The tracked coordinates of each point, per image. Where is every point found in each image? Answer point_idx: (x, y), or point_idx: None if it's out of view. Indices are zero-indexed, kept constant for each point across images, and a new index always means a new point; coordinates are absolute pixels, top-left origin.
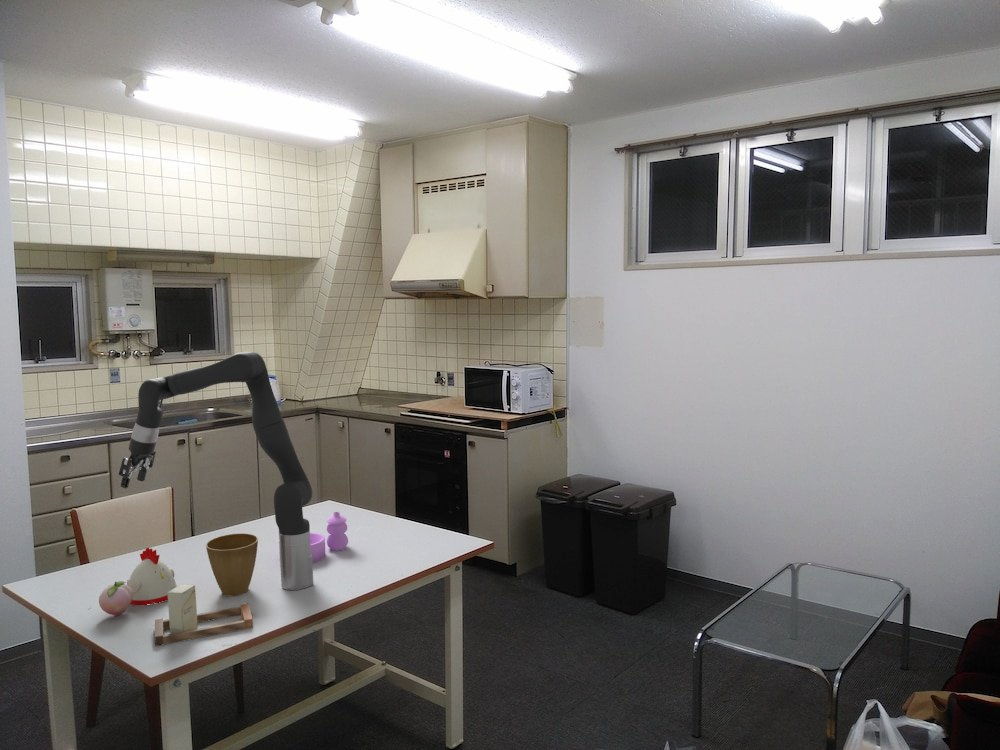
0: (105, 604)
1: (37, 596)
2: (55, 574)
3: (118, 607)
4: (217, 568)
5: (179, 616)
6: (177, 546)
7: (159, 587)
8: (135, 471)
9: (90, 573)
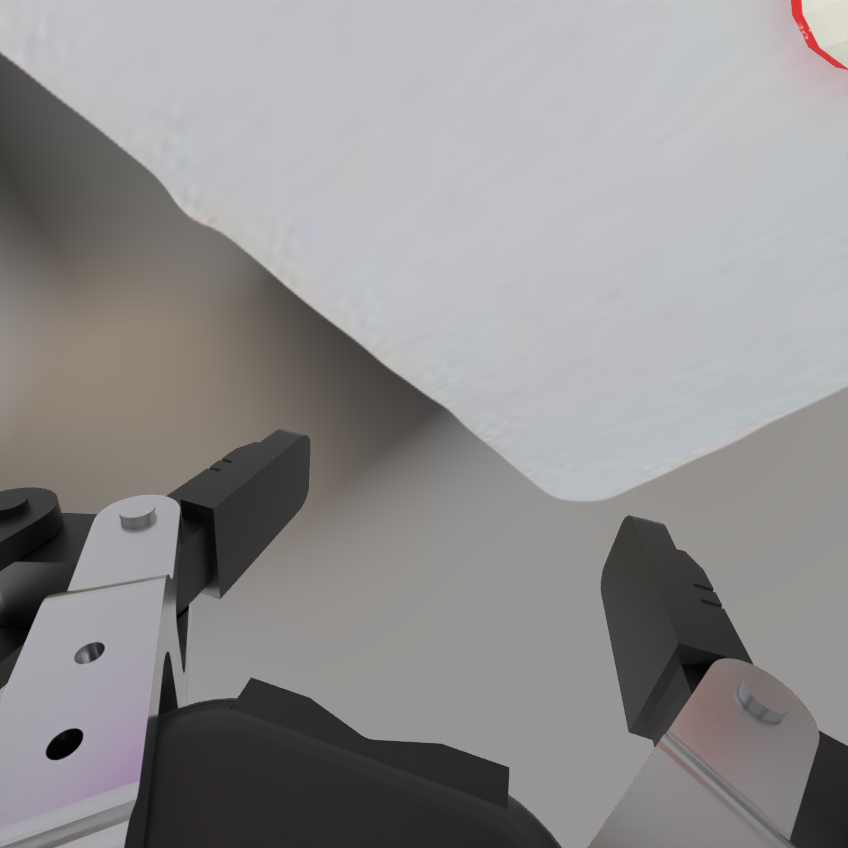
0: None
1: (689, 439)
2: (504, 451)
3: None
4: None
5: None
6: (232, 187)
7: None
8: (673, 752)
9: (505, 372)
